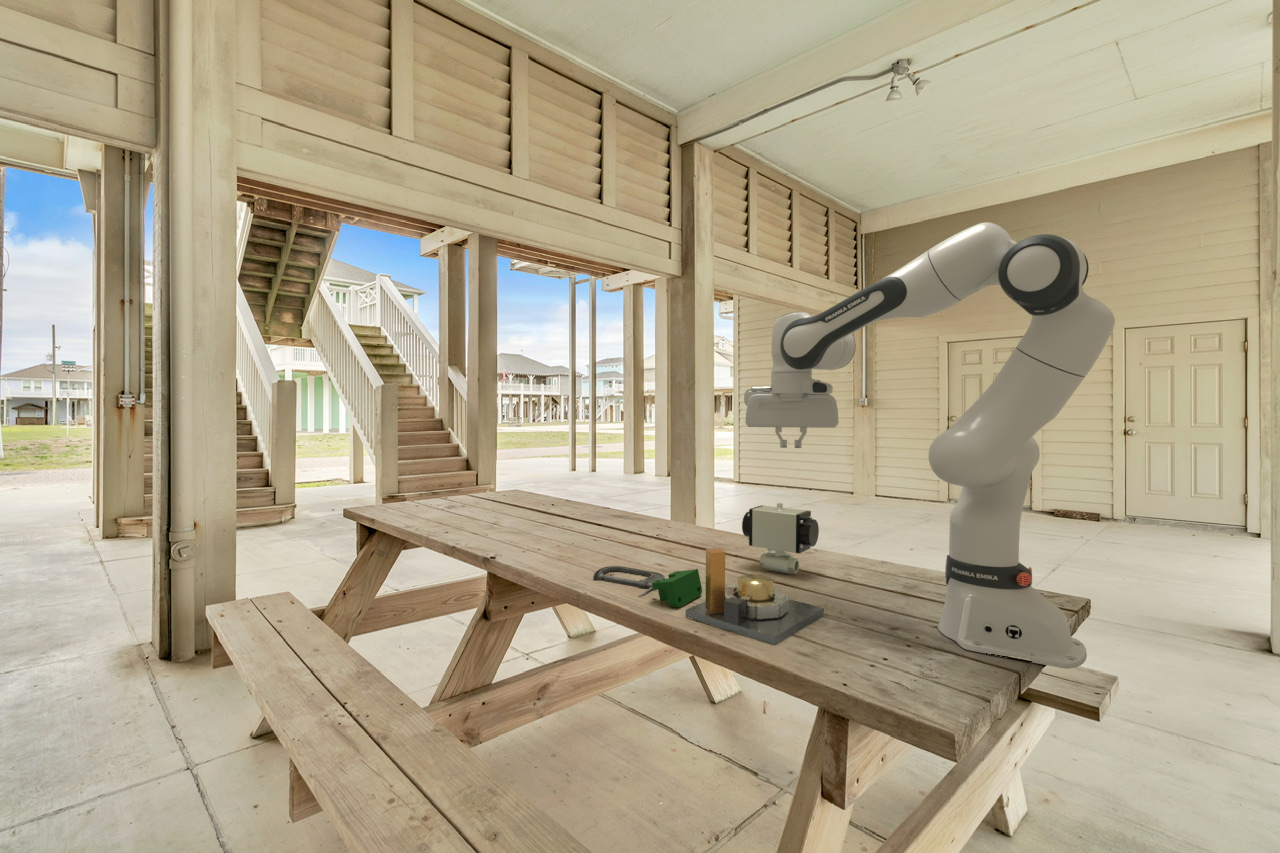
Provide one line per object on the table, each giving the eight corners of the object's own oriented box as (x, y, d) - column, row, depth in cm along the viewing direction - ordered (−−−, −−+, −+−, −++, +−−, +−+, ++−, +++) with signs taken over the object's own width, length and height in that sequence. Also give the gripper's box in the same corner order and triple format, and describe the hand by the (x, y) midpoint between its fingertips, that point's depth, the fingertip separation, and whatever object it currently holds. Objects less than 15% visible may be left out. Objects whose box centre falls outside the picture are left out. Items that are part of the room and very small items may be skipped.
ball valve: (820, 573, 146) (821, 504, 145) (808, 582, 139) (808, 509, 138) (755, 562, 157) (756, 497, 156) (741, 569, 150) (741, 501, 149)
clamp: (679, 613, 130) (679, 572, 134) (702, 612, 127) (701, 570, 131) (648, 606, 122) (649, 563, 125) (671, 604, 118) (672, 560, 122)
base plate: (824, 615, 117) (824, 578, 117) (774, 645, 102) (774, 603, 102) (740, 593, 130) (740, 560, 130) (685, 617, 116) (685, 580, 115)
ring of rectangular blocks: (770, 595, 124) (771, 540, 123) (798, 616, 111) (798, 554, 111) (698, 600, 120) (698, 543, 120) (718, 622, 108) (718, 559, 108)
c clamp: (680, 581, 141) (680, 570, 141) (640, 601, 127) (640, 588, 127) (615, 568, 153) (615, 558, 153) (572, 584, 139) (571, 573, 139)
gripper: (743, 386, 128) (743, 448, 129) (840, 385, 124) (839, 449, 124) (744, 387, 135) (744, 446, 135) (836, 386, 130) (835, 447, 131)
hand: (790, 447), depth 130 cm, fingers closed
